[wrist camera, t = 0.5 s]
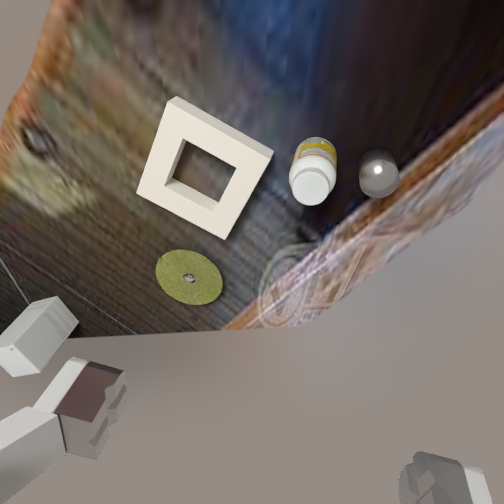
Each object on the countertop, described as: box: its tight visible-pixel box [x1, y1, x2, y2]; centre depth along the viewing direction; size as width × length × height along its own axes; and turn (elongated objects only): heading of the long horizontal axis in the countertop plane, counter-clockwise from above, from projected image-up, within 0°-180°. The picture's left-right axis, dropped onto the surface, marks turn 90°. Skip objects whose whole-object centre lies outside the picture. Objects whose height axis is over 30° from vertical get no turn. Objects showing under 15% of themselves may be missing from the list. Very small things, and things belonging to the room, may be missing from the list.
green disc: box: [156, 249, 223, 305], centre depth 63 cm, size 11×11×2 cm
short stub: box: [358, 148, 400, 198], centre depth 46 cm, size 4×4×5 cm
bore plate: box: [136, 96, 274, 240], centre depth 52 cm, size 14×14×3 cm
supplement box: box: [0, 296, 79, 377], centre depth 71 cm, size 7×7×13 cm
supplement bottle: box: [289, 137, 337, 205], centre depth 45 cm, size 5×5×10 cm
